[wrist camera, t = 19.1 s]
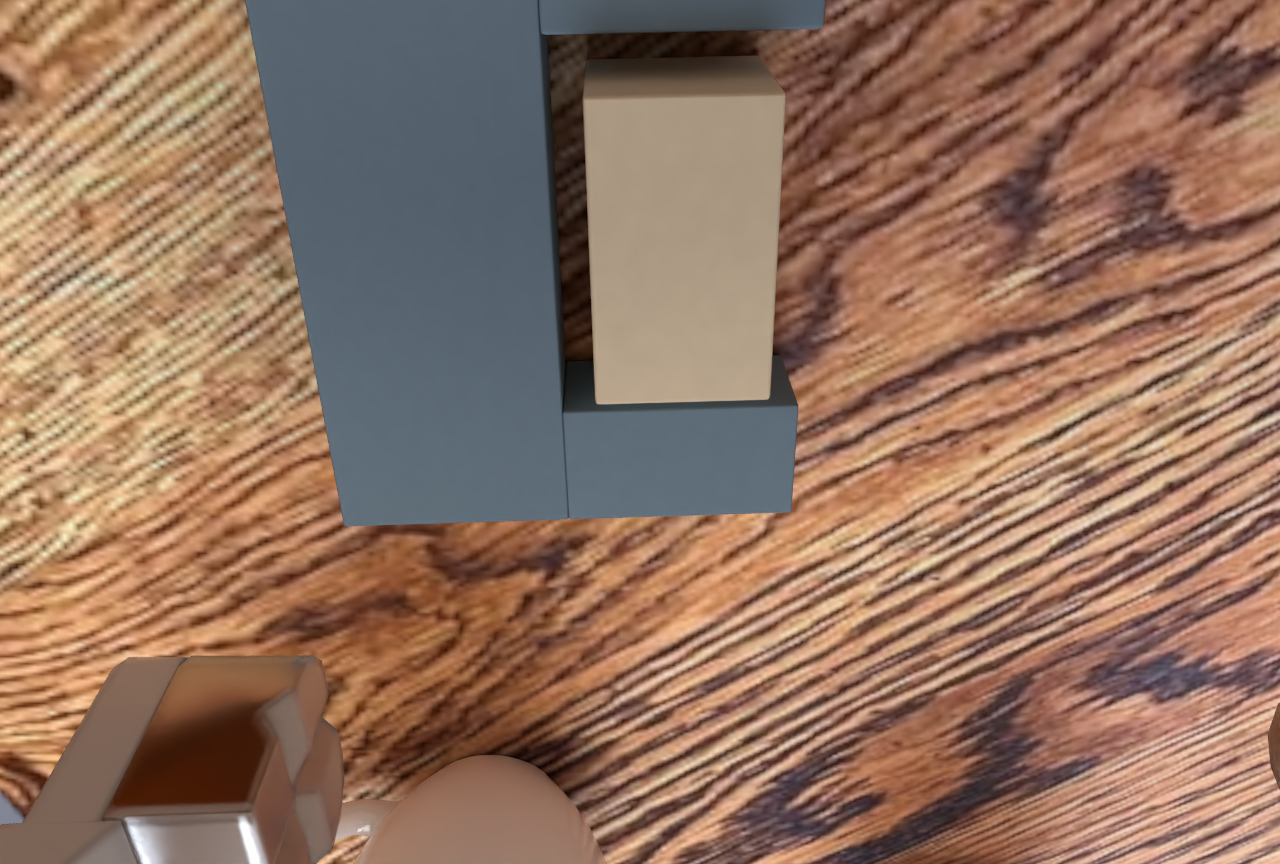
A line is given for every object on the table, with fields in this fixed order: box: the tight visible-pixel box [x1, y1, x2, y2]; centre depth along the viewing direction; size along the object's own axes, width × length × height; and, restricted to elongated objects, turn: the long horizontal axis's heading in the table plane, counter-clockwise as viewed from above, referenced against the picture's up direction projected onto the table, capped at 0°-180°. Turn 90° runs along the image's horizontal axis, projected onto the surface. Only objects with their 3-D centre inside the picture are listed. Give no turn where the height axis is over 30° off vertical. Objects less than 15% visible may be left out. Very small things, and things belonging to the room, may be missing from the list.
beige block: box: [583, 56, 786, 404], centre depth 21 cm, size 6×4×4 cm, turn 1°
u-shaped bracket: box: [245, 0, 826, 526], centre depth 21 cm, size 13×10×2 cm
